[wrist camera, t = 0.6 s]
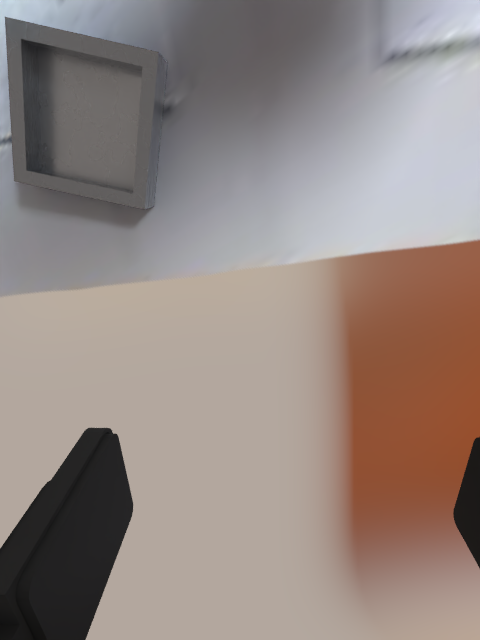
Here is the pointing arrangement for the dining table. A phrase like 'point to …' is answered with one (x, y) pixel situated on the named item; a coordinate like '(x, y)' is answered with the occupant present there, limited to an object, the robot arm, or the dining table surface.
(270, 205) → the dining table surface
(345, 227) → the dining table surface
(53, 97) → the locating frame
